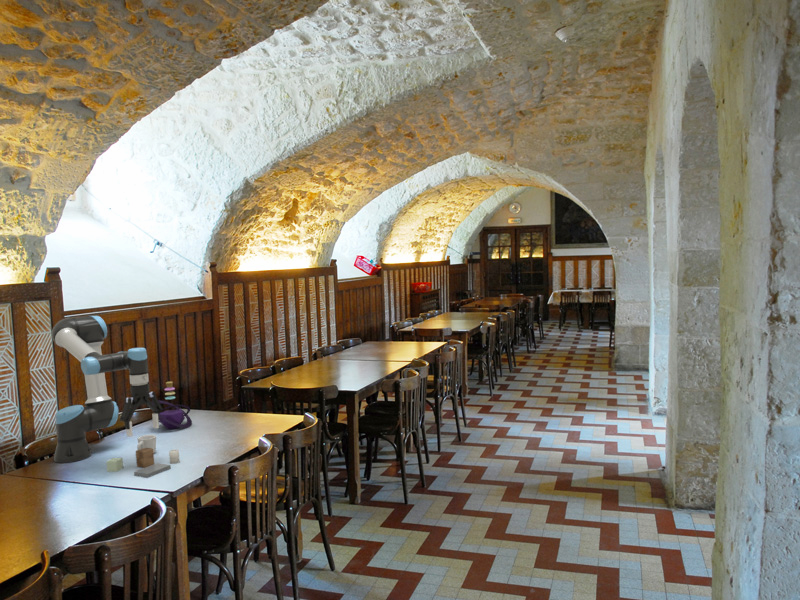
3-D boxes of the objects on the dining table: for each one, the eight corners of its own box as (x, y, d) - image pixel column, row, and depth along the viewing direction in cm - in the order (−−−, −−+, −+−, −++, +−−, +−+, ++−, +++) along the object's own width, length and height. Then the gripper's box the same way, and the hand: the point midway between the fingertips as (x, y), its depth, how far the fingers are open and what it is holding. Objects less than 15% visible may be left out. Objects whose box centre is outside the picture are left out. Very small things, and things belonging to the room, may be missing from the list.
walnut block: (136, 466, 268) (135, 450, 268) (146, 463, 273) (145, 447, 272) (144, 467, 266) (143, 452, 266) (154, 464, 270) (153, 448, 270)
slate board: (134, 475, 257) (133, 471, 257) (157, 466, 267) (157, 462, 267) (147, 477, 253) (147, 474, 253) (170, 468, 263) (170, 465, 263)
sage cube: (107, 471, 263) (106, 461, 263) (113, 468, 268) (112, 457, 268) (117, 471, 263) (116, 461, 262) (123, 468, 267) (122, 458, 267)
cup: (146, 458, 279) (145, 441, 279) (131, 458, 281) (130, 441, 280) (160, 451, 290) (159, 434, 289) (145, 451, 291) (144, 434, 291)
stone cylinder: (167, 463, 271) (167, 451, 271) (175, 460, 275) (174, 449, 274) (174, 464, 269) (173, 452, 269) (181, 461, 273) (180, 450, 273)
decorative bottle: (184, 432, 321) (181, 385, 319) (144, 434, 321) (140, 387, 320) (198, 421, 343) (195, 377, 342) (161, 423, 344) (158, 378, 342)
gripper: (120, 390, 254) (124, 440, 256) (168, 378, 276) (172, 425, 278) (108, 389, 258) (112, 439, 259) (157, 378, 280) (160, 424, 281)
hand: (143, 432), depth 268 cm, fingers open, 13 cm apart
